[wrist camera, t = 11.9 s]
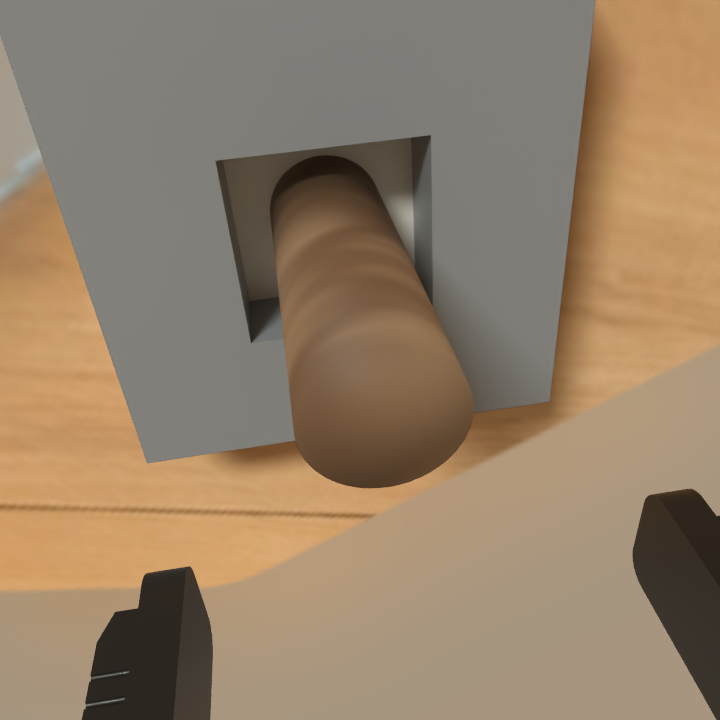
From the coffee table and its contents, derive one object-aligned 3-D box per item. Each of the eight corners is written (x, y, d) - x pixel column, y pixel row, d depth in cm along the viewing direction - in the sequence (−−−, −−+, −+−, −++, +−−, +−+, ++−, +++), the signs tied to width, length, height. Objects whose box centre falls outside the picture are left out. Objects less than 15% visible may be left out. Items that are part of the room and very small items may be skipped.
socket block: (547, -72, 22) (602, -64, 18) (516, 347, 31) (549, 401, 28) (26, -23, 20) (-13, -4, 17) (156, 399, 30) (147, 463, 26)
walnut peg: (377, 148, 24) (476, 333, 14) (382, 253, 26) (471, 473, 16) (261, 162, 23) (281, 361, 14) (278, 266, 26) (304, 500, 16)
